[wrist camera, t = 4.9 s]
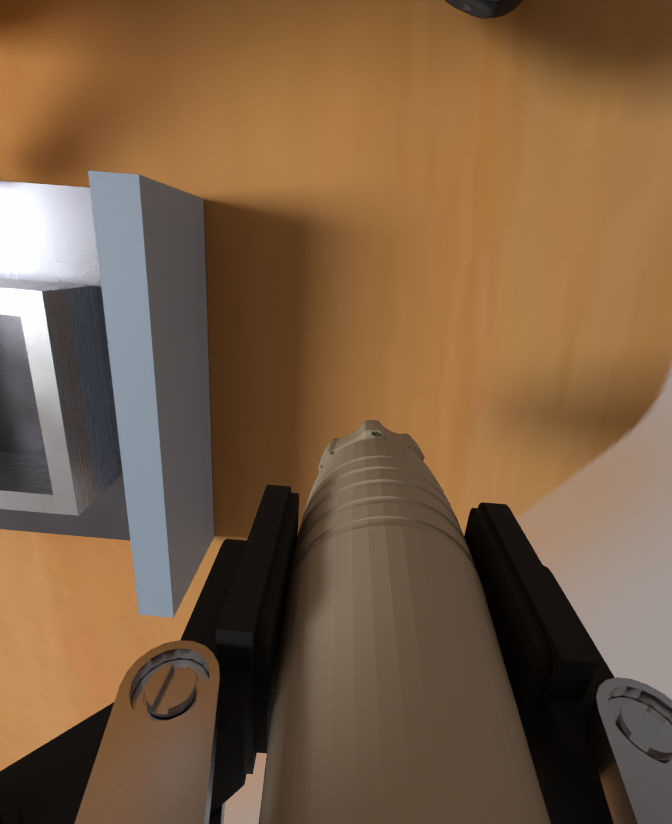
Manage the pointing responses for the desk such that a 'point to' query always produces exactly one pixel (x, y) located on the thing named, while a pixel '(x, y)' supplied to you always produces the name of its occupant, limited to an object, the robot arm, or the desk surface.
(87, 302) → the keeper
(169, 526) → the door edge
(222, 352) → the desk surface
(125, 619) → the desk surface
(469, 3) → the controller
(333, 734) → the handle
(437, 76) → the desk surface
